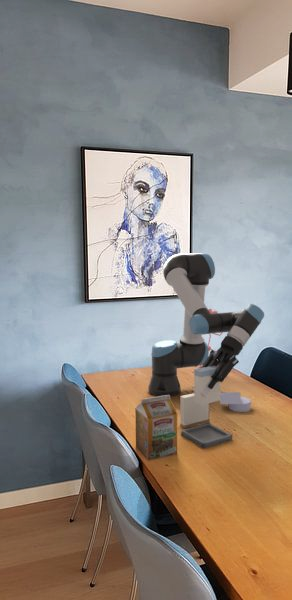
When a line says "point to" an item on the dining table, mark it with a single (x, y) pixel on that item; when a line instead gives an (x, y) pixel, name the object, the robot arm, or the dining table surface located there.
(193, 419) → the cream square slab
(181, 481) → the dining table surface
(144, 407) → the milk carton
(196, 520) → the dining table surface
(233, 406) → the wedge on round base
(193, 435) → the tray
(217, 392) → the stub
